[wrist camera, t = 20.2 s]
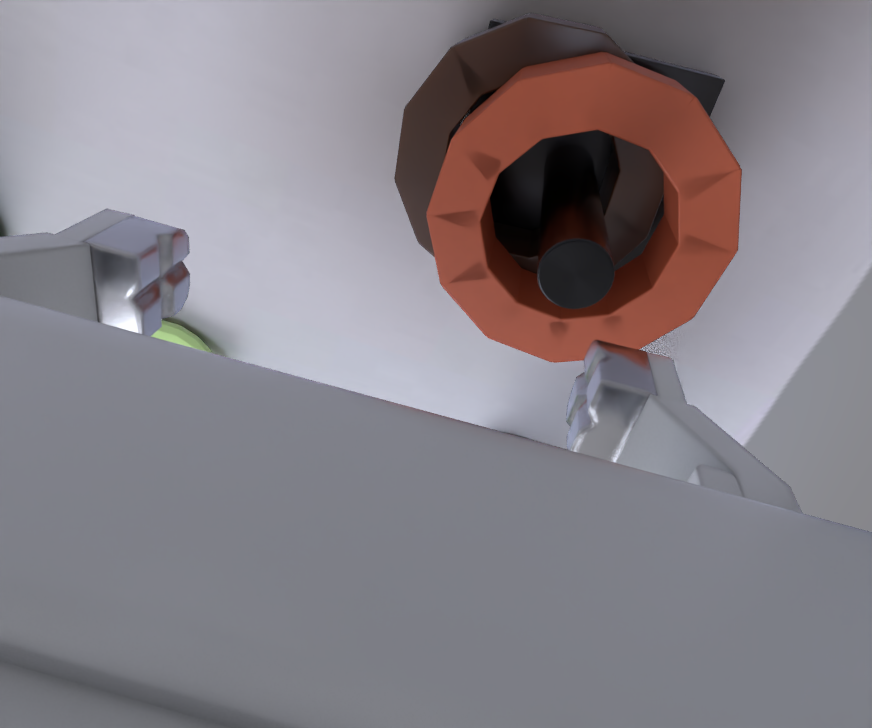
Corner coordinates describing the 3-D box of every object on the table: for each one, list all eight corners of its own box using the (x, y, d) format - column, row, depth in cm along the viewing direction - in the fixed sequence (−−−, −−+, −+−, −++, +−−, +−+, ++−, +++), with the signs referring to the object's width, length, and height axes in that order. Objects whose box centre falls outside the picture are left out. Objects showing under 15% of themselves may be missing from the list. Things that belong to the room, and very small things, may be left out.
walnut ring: (435, -8, 23) (420, -7, 20) (697, 48, 23) (716, 57, 20) (398, 238, 28) (382, 265, 26) (610, 288, 28) (615, 320, 25)
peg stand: (493, 18, 24) (446, 45, 14) (716, 75, 24) (839, 146, 14) (444, 231, 29) (382, 369, 19) (630, 280, 29) (672, 448, 19)
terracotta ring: (501, 9, 20) (493, 14, 17) (777, 121, 21) (810, 142, 18) (412, 269, 25) (395, 303, 23) (632, 354, 26) (641, 397, 23)
